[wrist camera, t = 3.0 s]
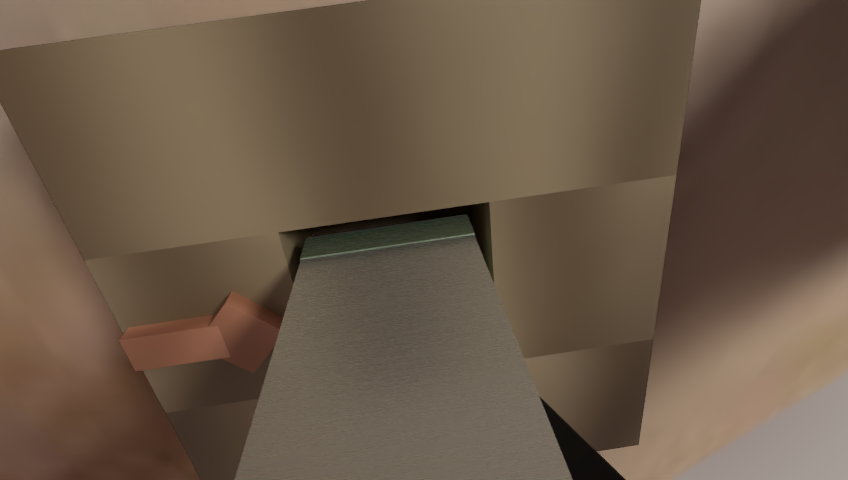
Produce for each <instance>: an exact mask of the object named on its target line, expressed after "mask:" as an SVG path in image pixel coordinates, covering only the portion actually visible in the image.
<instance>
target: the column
mask: <svg viewBox="0 0 848 480" xmlns="http://www.w3.org/2000/svg"><path fill="white" fill-rule="evenodd" d="M235 480H573V479H572V477H571V474H570V472H569V469H568V467H567V464H566V462H565V459H564V457H563V454H562V452H561V449H560V447H559V444H558V442H557V439H556V437H555V434H554V432H553V429H552V427H551V424H550V422H549V419H548V417H547V414H546V412H545V409H544V407H543V404H542V402H541V399H540V397H539V395H538V392H537V390H536V387H535V385H534V382H533V380H532V377H531V375H530V372H529V370H528V367H527V365H526V362H525V360H524V357H523V355H522V352H521V350H520V347H519V345H518V342H517V340H516V337H515V335H514V332H513V330H512V327H511V325H510V322H509V320H508V317H507V315H506V312H505V310H504V307H503V305H502V302H501V300H500V297H499V295H498V293H497V290H496V288H495V285H494V283H493V280H492V278H491V275H490V273H489V270H488V268H487V265H486V263H485V260H484V258H483V255H482V253H481V250H480V248H479V245H478V243H477V240H476V238H475V232H474V230H473V227H472V225H471V223H470V220H469V218H468V215H466V214H465V215H458V216H451V217H445V218H438V219H431V220H424V221H417V222H410V223H403V224H396V225H389V226H382V227H375V228H369V229H362V230H355V231H348V232H341V233H334V234H327V235H320V236H313V237H307V238H306V240H305V243H304V247H303V250H302V253H301V256H300V264H299V267H298V271H297V274H296V277H295V281H294V284H293V287H292V291H291V294H290V297H289V300H288V304H287V307H286V310H285V314H284V317H283V320H282V324H281V327H280V330H279V334H278V337H277V340H276V344H275V347H274V350H273V354H272V357H271V360H270V364H269V367H268V370H267V373H266V377H265V380H264V383H263V387H262V390H261V393H260V397H259V400H258V403H257V407H256V410H255V413H254V417H253V420H252V423H251V427H250V430H249V433H248V437H247V440H246V443H245V447H244V450H243V453H242V456H241V460H240V463H239V466H238V470H237V473H236V476H235Z"/></svg>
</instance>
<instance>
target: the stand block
mask: <svg viewBox="0 0 848 480" xmlns="http://www.w3.org/2000/svg"><path fill="white" fill-rule="evenodd" d="M700 5H701V0H368V1H360V2H353V3H345V4H338V5H331V6H323V7H316V8H308V9H301V10H294V11H286V12H279V13H271V14H264V15H256V16H249V17H242V18H234V19H227V20H219V21H212V22H205V23H197V24H190V25H182V26H175V27H167V28H160V29H153V30H145V31H138V32H130V33H123V34H116V35H108V36H101V37H93V38H86V39H78V40H71V41H64V42H56V43H49V44H41V45H34V46H27V47H19V48H12V49H5V50H0V103H1V105H2V107H3V109H4V111H5V113H6V115H7V116H8V118H9V120H10V122H11V124H12V126H13V128H14V130H15V131H16V133H17V135H18V137H19V139H20V141H21V143H22V145H23V146H24V148H25V150H26V152H27V154H28V156H29V158H30V160H31V161H32V163H33V165H34V167H35V169H36V171H37V173H38V175H39V177H40V178H41V180H42V182H43V184H44V186H45V188H46V190H47V192H48V193H49V195H50V197H51V199H52V201H53V203H54V205H55V207H56V208H57V210H58V212H59V214H60V216H61V218H62V220H63V222H64V223H65V225H66V227H67V229H68V231H69V233H70V235H71V237H72V239H73V240H74V242H75V244H76V246H77V248H78V250H79V252H80V254H81V255H82V257H83V259H84V261H85V263H86V265H87V267H88V269H89V270H90V272H91V274H92V276H93V278H94V280H95V282H96V284H97V286H98V287H99V289H100V291H101V293H102V295H103V297H104V299H105V301H106V302H107V304H108V306H109V308H110V310H111V312H112V314H113V316H114V317H115V319H116V321H117V323H118V325H119V327H120V329H121V331H122V332H123V335H122V337H121V338H120V339H119V342H120V344H121V346H122V348H123V349H124V351H125V353H126V355H127V357H128V359H129V360H130V362H131V364H132V366H133V368H134V370H135V371H141V370H143V372H144V374H145V376H146V378H147V379H148V381H149V383H150V385H151V387H152V389H153V391H154V393H155V394H156V396H157V398H158V400H159V402H160V404H161V406H162V408H163V410H164V411H165V413H166V415H167V417H168V419H169V421H170V423H171V425H172V426H173V428H174V430H175V432H176V434H177V436H178V438H179V440H180V441H181V443H182V445H183V447H184V449H185V451H186V453H187V455H188V456H189V458H190V460H191V462H192V464H193V466H194V468H195V470H196V472H197V473H198V475H199V477H200V479H201V480H235V476H236V473H237V470H238V466H239V463H240V460H241V456H242V453H243V450H244V447H245V443H246V440H247V437H248V433H249V430H250V427H251V423H252V420H253V417H254V413H255V410H256V407H257V403H258V400H259V397H260V393H261V390H262V387H263V383H264V380H265V377H266V373H267V370H268V367H269V364H270V360H271V357H272V354H273V350H274V347H275V344H276V340H277V337H278V334H279V330H280V327H281V324H282V320H283V317H284V314H285V310H286V307H287V304H288V300H289V297H290V294H291V291H292V287H293V284H294V281H295V277H296V274H297V271H298V267H299V264H300V256H301V253H302V250H303V247H304V243H305V240H306V238H307V237H311V235H310V231H309V228H312V227H319V226H326V225H333V224H340V223H347V222H354V221H361V220H368V219H375V218H382V217H389V216H396V215H403V214H409V213H416V212H423V211H430V210H437V209H444V208H451V207H458V206H465V205H471V207H472V220H473V230H474V232H475V238H476V240H477V243H478V245H479V248H480V250H481V253H482V255H483V258H484V260H485V263H486V265H487V268H488V270H489V273H490V275H491V278H492V280H493V283H494V285H495V288H496V290H497V293H498V295H499V297H500V300H501V302H502V305H503V307H504V310H505V312H506V315H507V317H508V320H509V322H510V325H511V327H512V330H513V332H514V335H515V337H516V340H517V342H518V345H519V347H520V350H521V352H522V355H523V357H524V360H525V362H526V365H527V367H528V370H529V372H530V375H531V377H532V380H533V382H534V385H535V387H536V390H537V392H538V395H539V396H540V397H541V398H542V399H543V400H544V401H545V402H546V403H547V404H548V405H549V406H550V407H551V408H552V409H553V410H554V411H555V412H556V413H557V414H558V415H559V416H560V417H562V418H563V419H564V420H565V421H566V422H567V423H568V424H569V425H570V426H571V427H572V428H573V429H574V430H575V431H576V432H577V433H578V434H579V435H580V436H581V437H582V438H583V439H584V440H585V441H586V442H587V443H588V444H589V445H590V446H591V447H592V448H593V449H594V450H596V451H602V450H608V449H615V448H621V447H627V446H634V445H639V437H640V430H641V423H642V416H643V409H644V402H645V395H646V388H647V381H648V374H649V367H650V359H651V352H652V345H653V338H654V331H655V324H656V317H657V310H658V303H659V296H660V288H661V281H662V274H663V267H664V260H665V253H666V246H667V239H668V232H669V225H670V217H671V210H672V203H673V196H674V189H675V182H676V175H677V168H678V161H679V154H680V146H681V139H682V132H683V125H684V118H685V111H686V104H687V97H688V90H689V83H690V76H691V68H692V61H693V54H694V47H695V40H696V33H697V26H698V19H699V12H700Z"/></svg>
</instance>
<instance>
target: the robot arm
mask: <svg viewBox="0 0 848 480" xmlns="http://www.w3.org/2000/svg"><path fill="white" fill-rule="evenodd" d="M539 397H540V396H539ZM540 399H541V402H542V404H543V407H544V409H545V412H546V414H547V417H548V419H549V422H550V424H551V427H552V429H553V432H554V434H555V437H556V439H557V442H558V444H559V447H560V449H561V452H562V454H563V457H564V459H565V462H566V464H567V467H568V469H569V472H570V474H571V477H572V479H573V480H625V479H624V478H623V477H622V476H621V475H620V474H619V473H618V472H617V471H616V470H615V469H614V468H613V467H612V466H611V465H610V464H609V463H608V462H607V461H606V460H605V459H604V458H603V457H602V456H601V455H600V454H599V453H598V452H597V451H596V450H594V449H593V448H592V447H591V446H590V445H589V444H588V443H587V442H586V441H585V440H584V439H583V438H582V437H581V436H580V435H579V434H578V433H577V432H576V431H575V430H574V429H573V428H572V427H571V426H570V425H569V424H568V423H567V422H566V421H565V420H564V419H563V418H562V417H560V416H559V415H558V414H557V413H556V412H555V411H554V410H553V409H552V408H551V407H550V406H549V405H548V404H547V403H546V402H545V401H544V400H543V399H542V398H541V397H540Z"/></svg>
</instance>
